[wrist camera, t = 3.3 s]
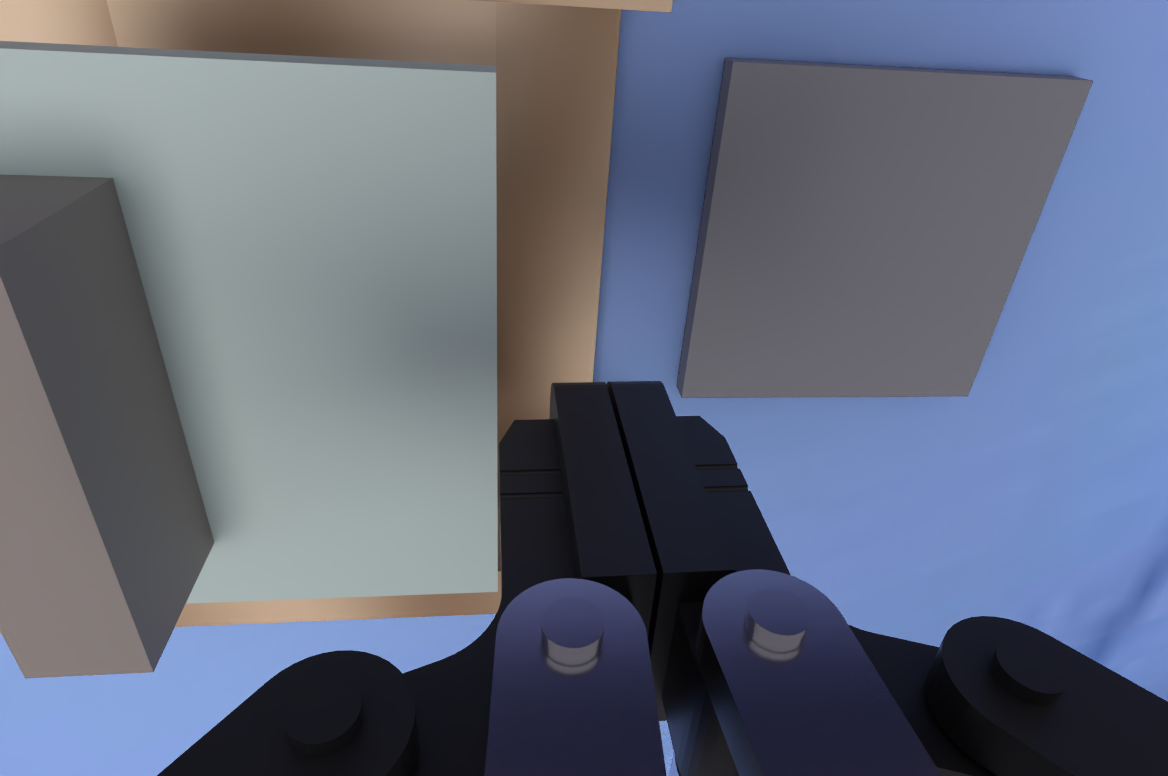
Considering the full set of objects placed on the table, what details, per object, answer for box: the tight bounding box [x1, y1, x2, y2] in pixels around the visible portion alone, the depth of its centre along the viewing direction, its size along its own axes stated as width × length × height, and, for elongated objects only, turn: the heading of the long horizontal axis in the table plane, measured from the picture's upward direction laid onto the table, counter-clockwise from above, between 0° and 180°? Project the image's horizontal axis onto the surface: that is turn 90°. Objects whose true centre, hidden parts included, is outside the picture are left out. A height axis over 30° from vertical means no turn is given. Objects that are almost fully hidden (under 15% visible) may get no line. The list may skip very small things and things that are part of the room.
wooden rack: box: [0, 0, 673, 634], centre depth 13 cm, size 20×12×6 cm, turn 87°
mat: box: [677, 58, 1093, 398], centre depth 17 cm, size 8×8×1 cm
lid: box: [0, 41, 498, 678], centre depth 10 cm, size 6×9×3 cm
